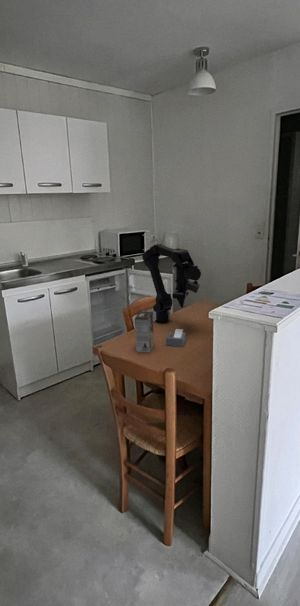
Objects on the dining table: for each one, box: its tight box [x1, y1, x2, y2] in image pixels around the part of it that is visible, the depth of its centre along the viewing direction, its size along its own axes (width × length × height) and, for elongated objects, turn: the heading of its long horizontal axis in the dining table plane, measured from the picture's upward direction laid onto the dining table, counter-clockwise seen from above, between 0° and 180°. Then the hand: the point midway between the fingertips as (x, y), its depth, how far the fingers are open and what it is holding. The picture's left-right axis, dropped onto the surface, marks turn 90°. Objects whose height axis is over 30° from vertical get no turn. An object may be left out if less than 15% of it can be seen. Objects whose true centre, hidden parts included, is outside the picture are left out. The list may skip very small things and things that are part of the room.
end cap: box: [165, 330, 187, 348], centre depth 166 cm, size 8×8×4 cm
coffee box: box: [134, 311, 155, 353], centre depth 159 cm, size 9×6×16 cm
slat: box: [173, 328, 184, 338], centre depth 170 cm, size 4×12×3 cm, turn 170°
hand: (182, 307), depth 178 cm, fingers closed
